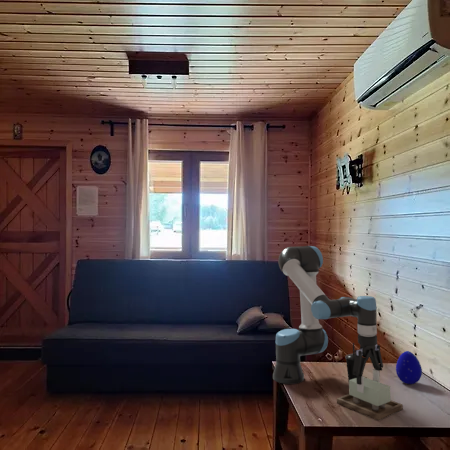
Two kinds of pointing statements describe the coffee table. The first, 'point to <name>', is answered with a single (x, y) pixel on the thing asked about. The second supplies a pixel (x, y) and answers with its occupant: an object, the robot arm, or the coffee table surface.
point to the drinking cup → (350, 364)
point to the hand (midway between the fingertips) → (368, 388)
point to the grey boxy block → (371, 391)
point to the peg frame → (370, 407)
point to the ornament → (408, 368)
